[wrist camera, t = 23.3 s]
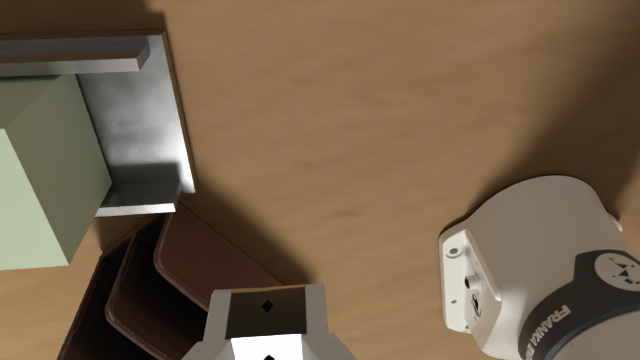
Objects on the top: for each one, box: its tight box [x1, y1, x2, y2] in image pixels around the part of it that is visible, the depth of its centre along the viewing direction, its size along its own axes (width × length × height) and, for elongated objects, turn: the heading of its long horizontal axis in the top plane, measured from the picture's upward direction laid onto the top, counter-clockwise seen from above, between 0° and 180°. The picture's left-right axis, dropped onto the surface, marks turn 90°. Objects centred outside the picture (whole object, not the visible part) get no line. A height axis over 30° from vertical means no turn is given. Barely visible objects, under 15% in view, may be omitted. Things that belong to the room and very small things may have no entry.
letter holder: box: [57, 202, 284, 360], centre depth 39 cm, size 10×20×14 cm, turn 37°
